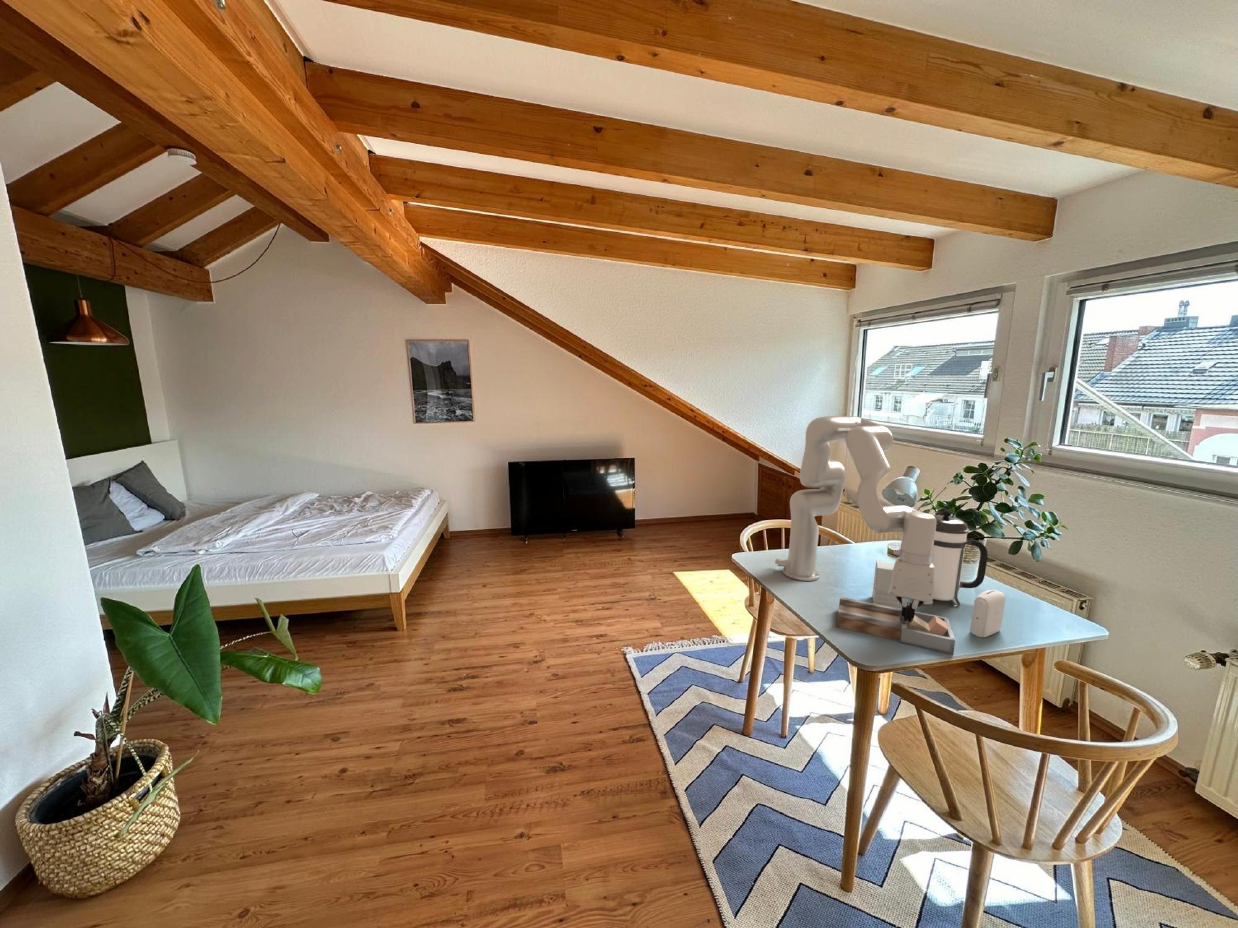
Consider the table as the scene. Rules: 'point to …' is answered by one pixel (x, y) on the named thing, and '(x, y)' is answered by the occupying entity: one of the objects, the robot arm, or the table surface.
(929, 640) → the tray
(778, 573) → the table surface
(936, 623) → the salmon orange block
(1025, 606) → the table surface
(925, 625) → the beige block
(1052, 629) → the table surface
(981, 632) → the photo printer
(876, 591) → the supplement box
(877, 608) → the slot block
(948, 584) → the coffee press
